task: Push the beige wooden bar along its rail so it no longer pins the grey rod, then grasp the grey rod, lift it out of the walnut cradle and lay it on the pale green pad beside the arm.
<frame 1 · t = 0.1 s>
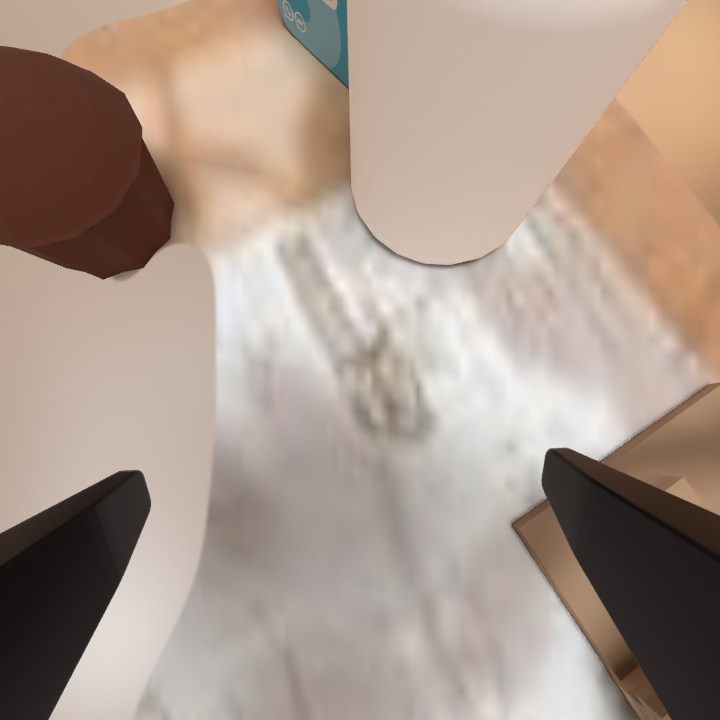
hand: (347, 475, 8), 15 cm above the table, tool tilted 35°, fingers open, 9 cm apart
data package: (348, 57, 30), on the table
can: (436, 193, 27), on the table
muffin: (114, 223, 26), on the table
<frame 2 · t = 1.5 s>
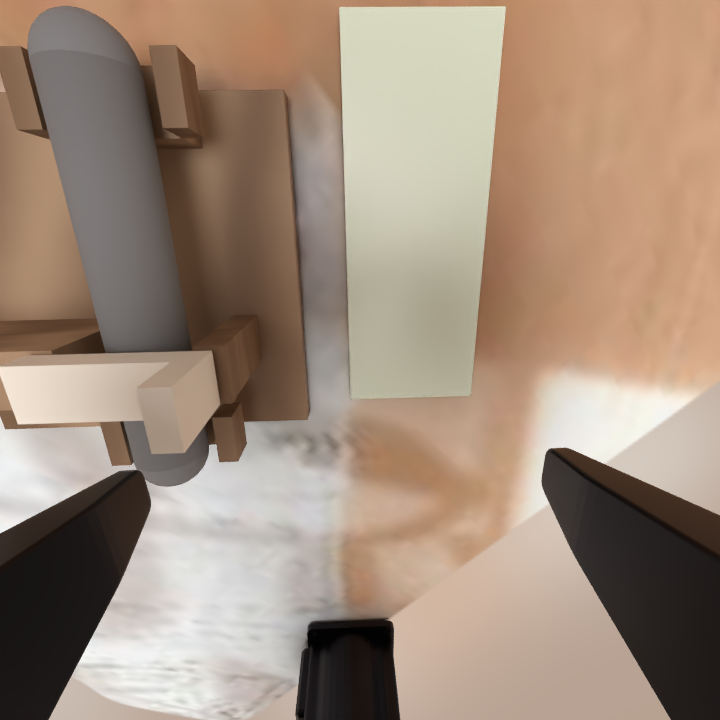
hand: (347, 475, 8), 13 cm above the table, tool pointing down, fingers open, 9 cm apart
beige wooden bar: (97, 399, 12), point 8 cm above the table, slide at 0.0 cm
cradle: (185, 278, 19), on the table
grey rod: (138, 292, 15), point 5 cm above the table, touching cradle
mat: (413, 233, 19), on the table
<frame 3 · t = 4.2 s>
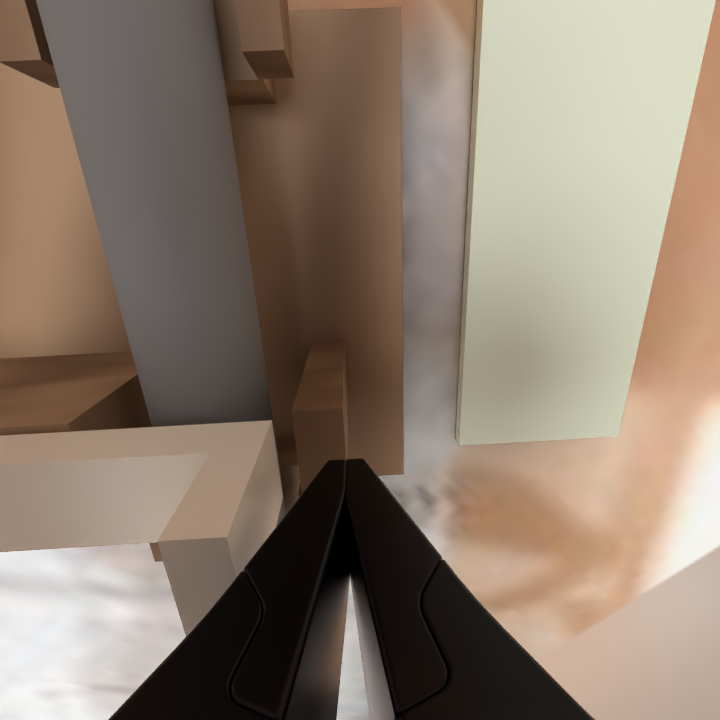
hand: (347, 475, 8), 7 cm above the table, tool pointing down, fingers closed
beige wooden bar: (88, 522, 7), point 8 cm above the table, slide at 1.3 cm, touching gripper
cradle: (242, 292, 14), on the table
grey rod: (196, 322, 10), point 5 cm above the table, touching cradle
mat: (560, 221, 14), on the table
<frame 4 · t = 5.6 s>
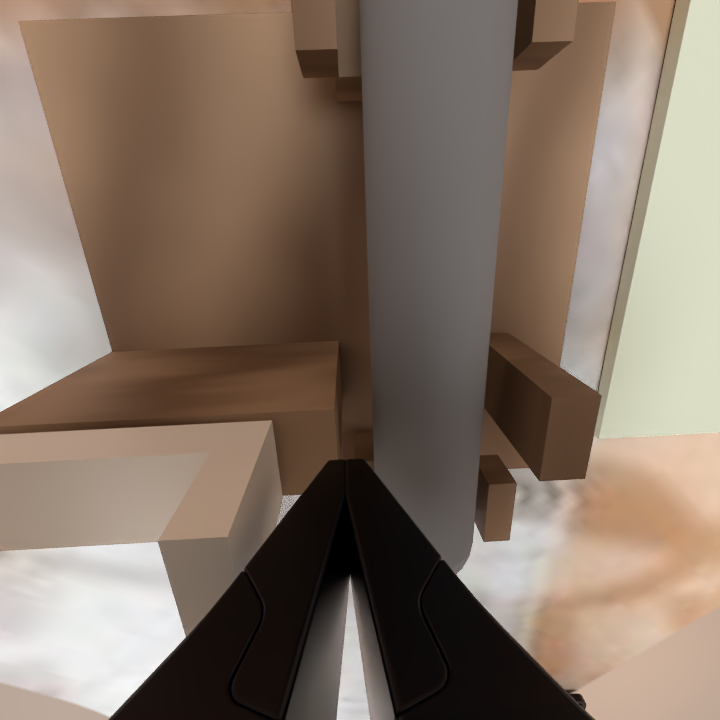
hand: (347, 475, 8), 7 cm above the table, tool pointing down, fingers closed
beige wooden bar: (88, 521, 7), point 8 cm above the table, slide at 7.4 cm, touching gripper
cradle: (403, 285, 14), on the table
grey rod: (428, 311, 10), point 5 cm above the table, touching cradle
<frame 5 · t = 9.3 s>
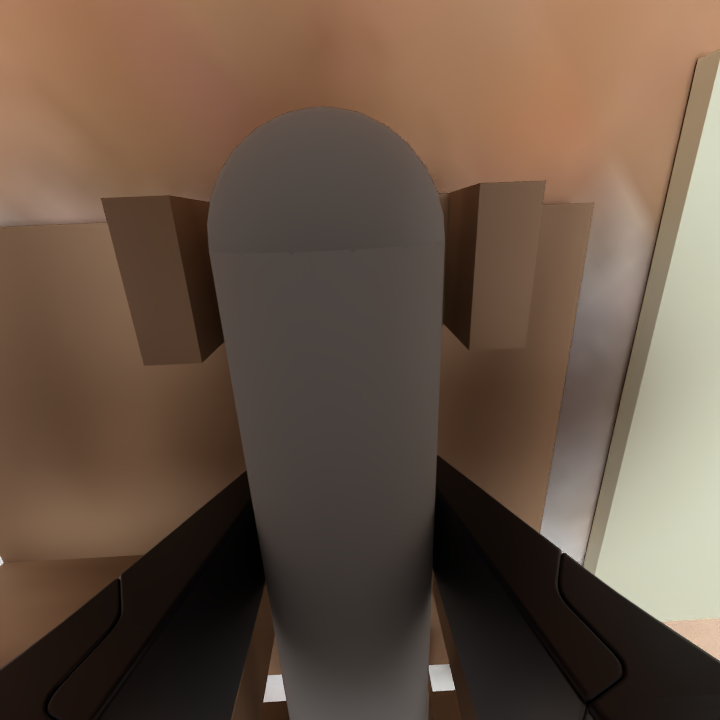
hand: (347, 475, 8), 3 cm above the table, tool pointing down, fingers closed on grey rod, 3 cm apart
cradle: (350, 476, 12), on the table
grey rod: (353, 615, 8), point 5 cm above the table, touching cradle, gripper
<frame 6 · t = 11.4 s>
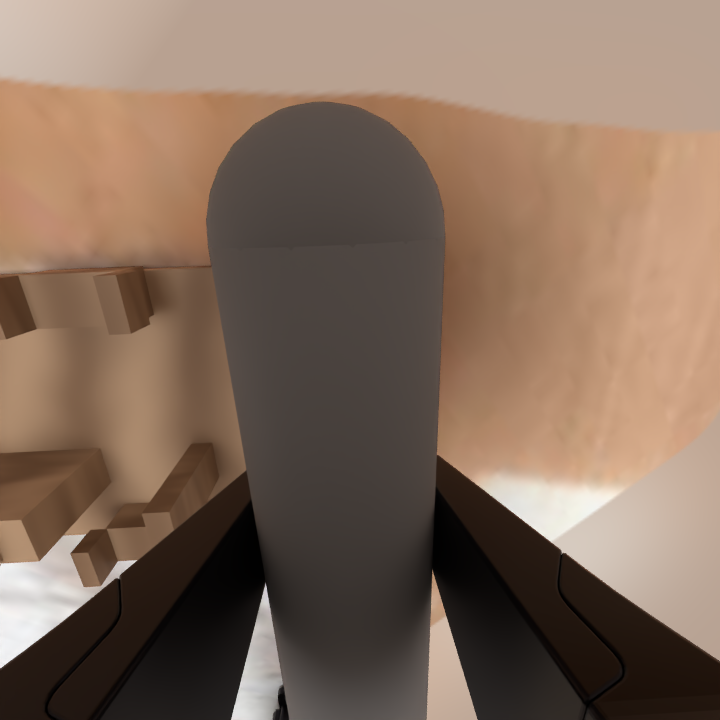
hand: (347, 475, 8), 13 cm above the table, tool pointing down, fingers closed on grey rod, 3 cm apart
cradle: (147, 409, 22), on the table
grey rod: (352, 613, 8), point 14 cm above the table, touching gripper
when the fingers open (2 cm above the table, at t = 13.5 s): grey rod drops 1 cm, resting on mat.
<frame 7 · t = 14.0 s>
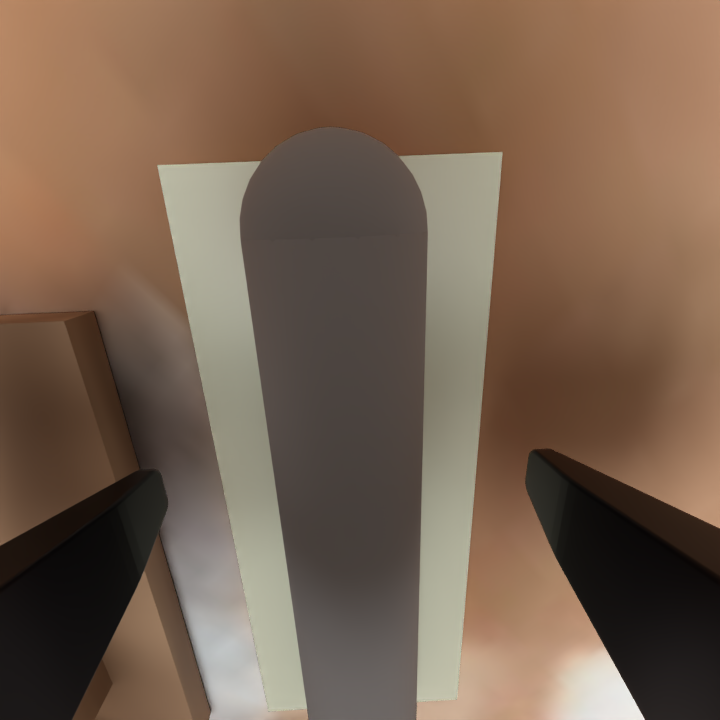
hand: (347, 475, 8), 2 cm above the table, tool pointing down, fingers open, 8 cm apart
grey rod: (353, 557, 9), point 2 cm above the table, touching mat
mat: (351, 497, 11), on the table
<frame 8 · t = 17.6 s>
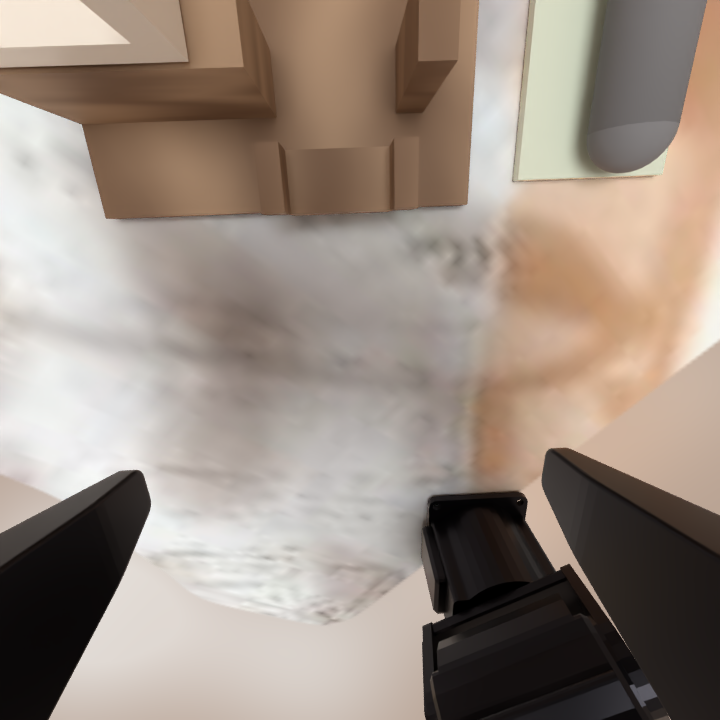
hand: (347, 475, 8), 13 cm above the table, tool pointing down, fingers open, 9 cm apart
cradle: (331, 6, 16), on the table
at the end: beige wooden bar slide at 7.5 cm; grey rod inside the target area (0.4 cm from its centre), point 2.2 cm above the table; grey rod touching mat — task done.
